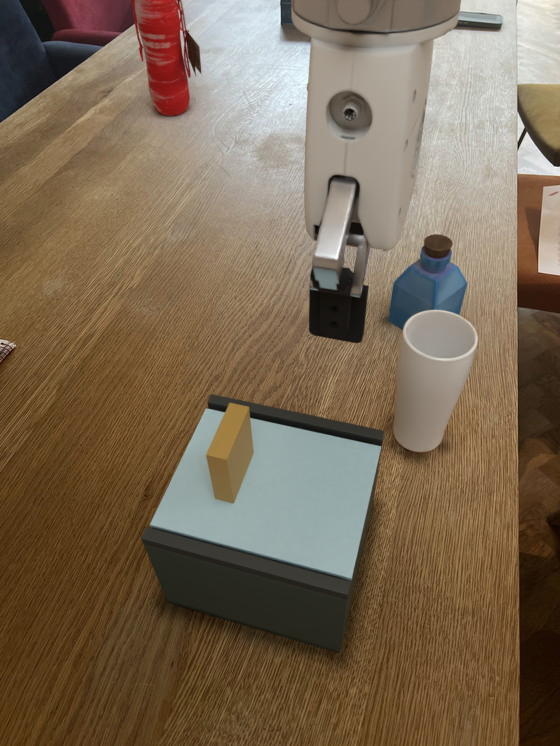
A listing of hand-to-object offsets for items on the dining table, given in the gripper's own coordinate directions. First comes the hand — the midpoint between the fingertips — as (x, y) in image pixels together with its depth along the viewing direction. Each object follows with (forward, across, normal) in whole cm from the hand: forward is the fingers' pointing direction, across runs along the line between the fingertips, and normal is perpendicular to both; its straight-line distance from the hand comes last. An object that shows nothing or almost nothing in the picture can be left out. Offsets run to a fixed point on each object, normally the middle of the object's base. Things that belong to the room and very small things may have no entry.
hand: (353, 285), depth 39 cm
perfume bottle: (+28, +29, -5) cm, 41 cm away
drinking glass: (+28, +11, -6) cm, 31 cm away
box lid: (+17, -6, +4) cm, 18 cm away
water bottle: (+28, +78, +49) cm, 97 cm away
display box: (+28, -6, +4) cm, 29 cm away
